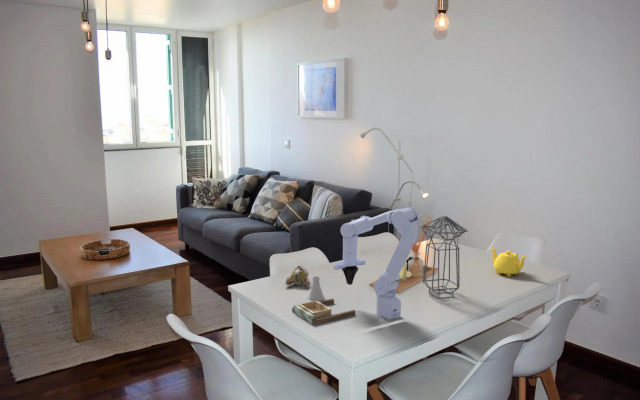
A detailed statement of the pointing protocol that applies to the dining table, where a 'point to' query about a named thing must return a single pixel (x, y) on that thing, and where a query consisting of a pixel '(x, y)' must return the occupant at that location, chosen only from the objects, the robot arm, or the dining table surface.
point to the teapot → (507, 263)
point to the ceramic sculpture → (298, 276)
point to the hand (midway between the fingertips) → (349, 283)
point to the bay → (313, 321)
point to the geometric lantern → (445, 252)
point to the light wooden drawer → (316, 309)
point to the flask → (316, 290)
